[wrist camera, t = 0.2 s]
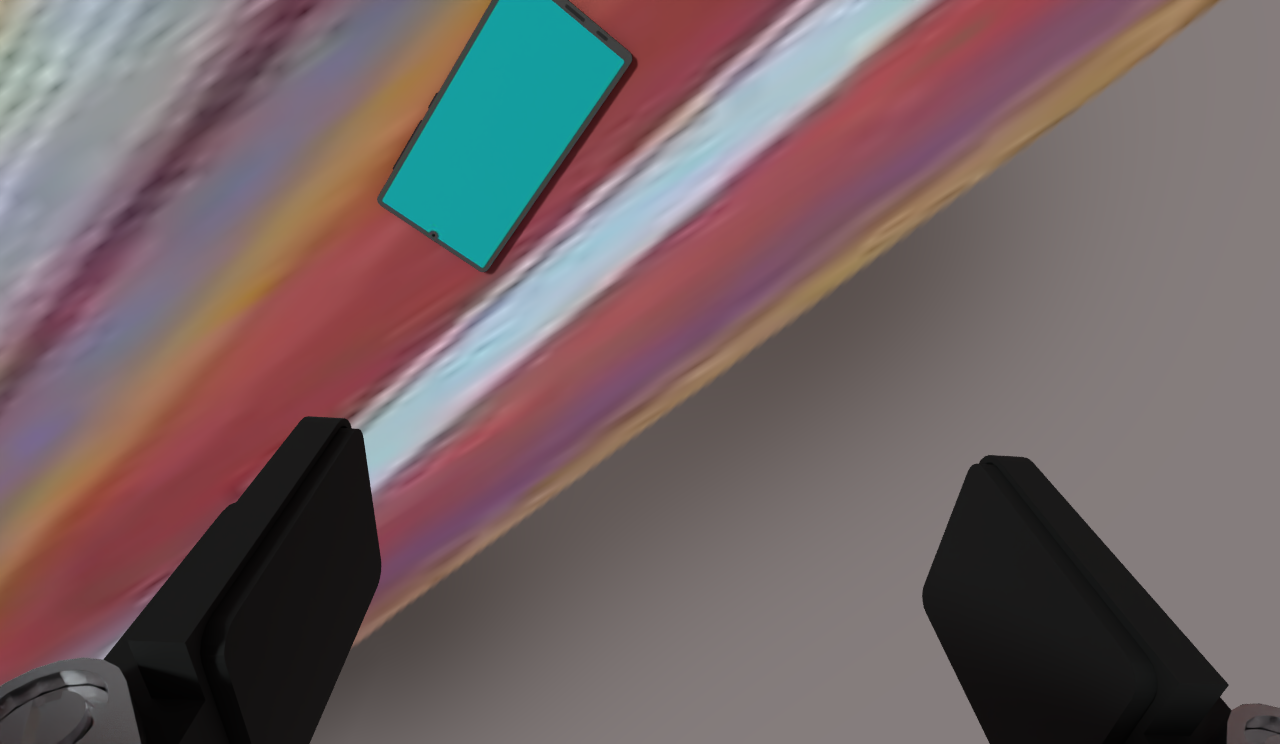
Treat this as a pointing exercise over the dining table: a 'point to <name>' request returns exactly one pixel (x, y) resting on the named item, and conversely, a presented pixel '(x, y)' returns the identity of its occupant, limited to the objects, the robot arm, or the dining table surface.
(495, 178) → the smartphone
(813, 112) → the dining table surface
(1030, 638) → the robot arm
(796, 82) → the dining table surface
